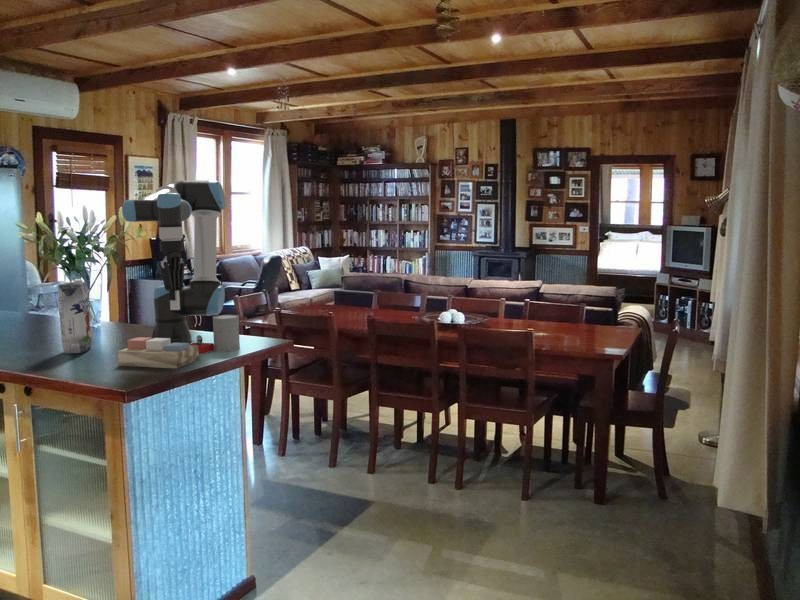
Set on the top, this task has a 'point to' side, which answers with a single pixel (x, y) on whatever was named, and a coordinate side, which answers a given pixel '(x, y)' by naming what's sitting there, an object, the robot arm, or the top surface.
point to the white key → (157, 343)
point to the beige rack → (158, 357)
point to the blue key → (176, 346)
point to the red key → (137, 343)
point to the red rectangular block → (203, 345)
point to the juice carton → (74, 316)
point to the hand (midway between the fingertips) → (175, 309)
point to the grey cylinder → (226, 333)
